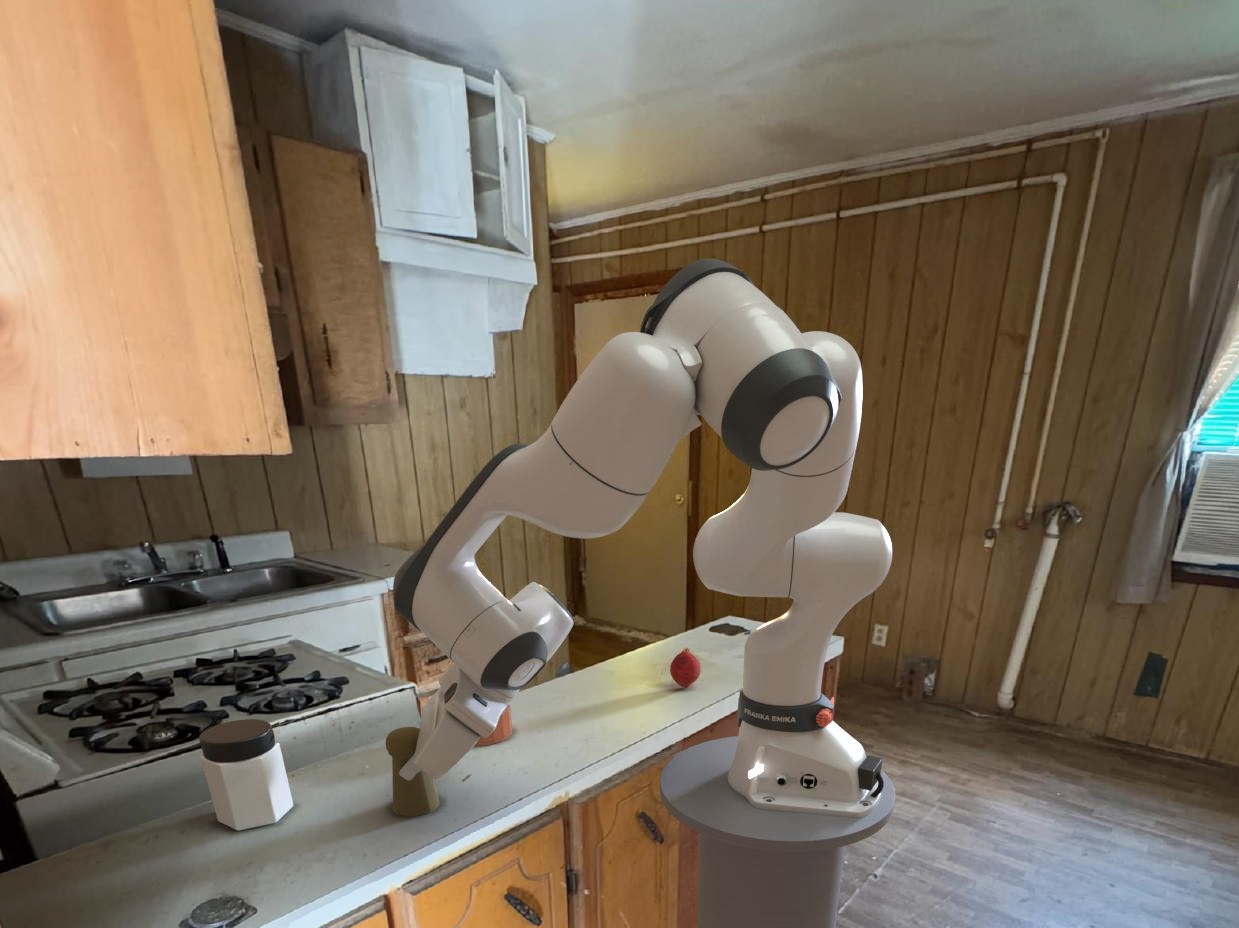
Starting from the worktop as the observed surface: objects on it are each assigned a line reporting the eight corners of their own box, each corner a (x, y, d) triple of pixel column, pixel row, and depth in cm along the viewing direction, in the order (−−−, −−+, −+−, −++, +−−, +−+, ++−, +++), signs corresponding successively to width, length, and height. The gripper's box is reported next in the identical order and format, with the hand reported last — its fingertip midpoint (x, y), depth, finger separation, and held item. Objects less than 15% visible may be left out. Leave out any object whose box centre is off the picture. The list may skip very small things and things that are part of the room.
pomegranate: (690, 694, 139) (691, 654, 136) (664, 689, 142) (664, 649, 138) (705, 686, 143) (706, 646, 140) (679, 681, 146) (680, 641, 143)
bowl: (523, 728, 124) (521, 703, 122) (490, 749, 116) (487, 723, 114) (475, 720, 128) (472, 695, 126) (440, 740, 120) (437, 714, 118)
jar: (305, 810, 98) (287, 727, 94) (246, 837, 92) (223, 749, 87) (266, 793, 103) (247, 713, 98) (207, 818, 97) (183, 733, 92)
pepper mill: (387, 802, 100) (374, 728, 96) (430, 790, 103) (420, 718, 99) (401, 820, 96) (388, 743, 91) (446, 807, 99) (435, 732, 94)
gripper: (455, 652, 103) (392, 723, 105) (452, 703, 85) (376, 787, 87) (491, 680, 106) (429, 749, 108) (495, 735, 87) (420, 816, 89)
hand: (405, 766), depth 97 cm, fingers closed on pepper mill, 4 cm apart
